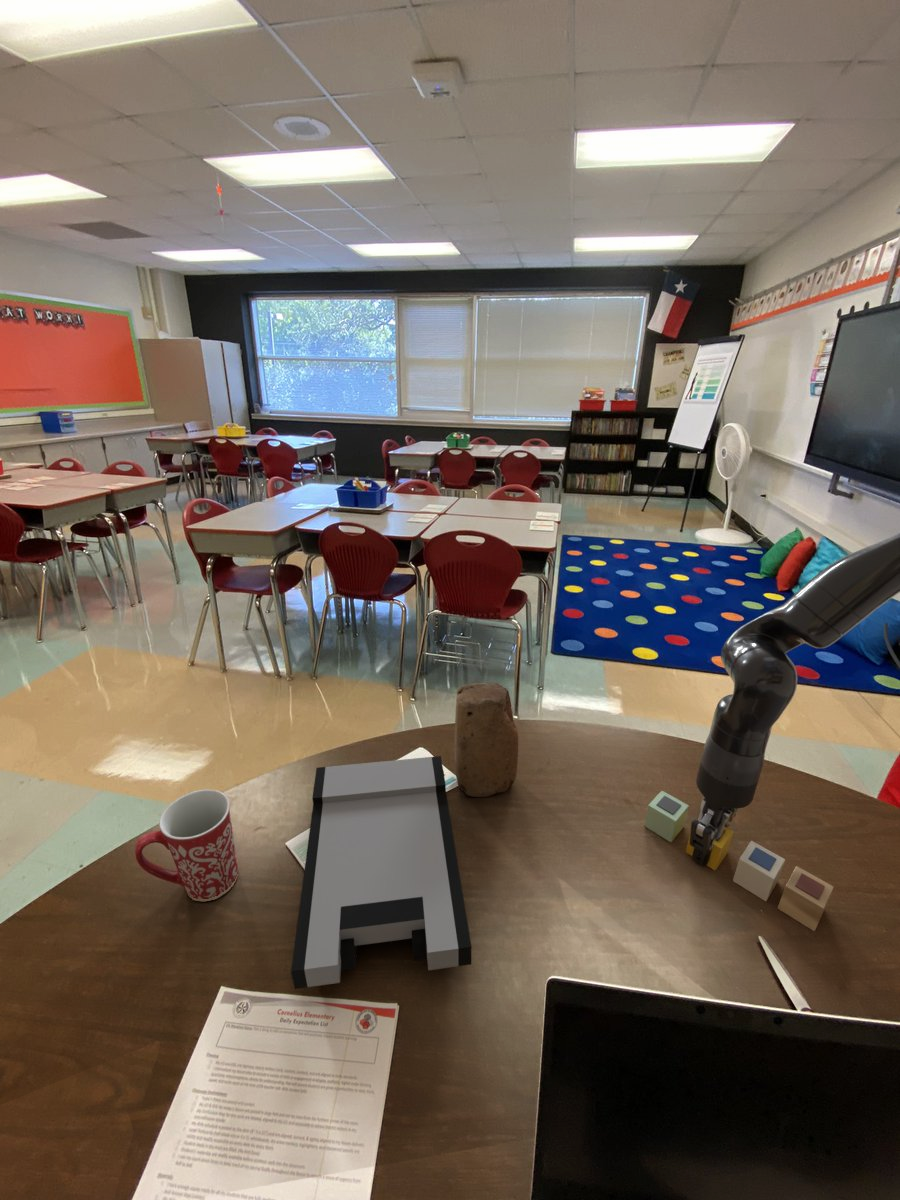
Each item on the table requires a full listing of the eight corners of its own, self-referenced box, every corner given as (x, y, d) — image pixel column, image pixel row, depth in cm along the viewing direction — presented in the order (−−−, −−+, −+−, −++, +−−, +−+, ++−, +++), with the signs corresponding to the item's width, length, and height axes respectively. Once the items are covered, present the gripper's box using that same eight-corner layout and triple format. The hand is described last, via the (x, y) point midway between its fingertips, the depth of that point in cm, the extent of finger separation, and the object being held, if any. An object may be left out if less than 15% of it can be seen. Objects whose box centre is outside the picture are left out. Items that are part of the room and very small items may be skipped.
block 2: (657, 811, 91) (662, 789, 89) (684, 826, 88) (689, 804, 86) (644, 826, 88) (648, 804, 86) (670, 842, 85) (675, 820, 83)
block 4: (788, 888, 78) (796, 864, 76) (824, 909, 75) (834, 886, 73) (777, 908, 75) (785, 885, 73) (814, 931, 72) (824, 908, 70)
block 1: (456, 800, 94) (456, 705, 85) (453, 770, 101) (453, 679, 92) (518, 797, 94) (524, 702, 86) (511, 767, 101) (516, 676, 93)
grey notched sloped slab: (298, 1007, 64) (289, 964, 61) (321, 804, 93) (316, 767, 90) (470, 983, 67) (471, 940, 63) (441, 792, 95) (440, 756, 92)
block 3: (744, 862, 82) (751, 839, 80) (777, 881, 79) (785, 858, 77) (732, 881, 79) (739, 858, 77) (766, 901, 76) (774, 878, 74)
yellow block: (698, 835, 87) (703, 813, 85) (727, 853, 84) (734, 830, 82) (685, 852, 84) (690, 829, 82) (715, 870, 81) (721, 848, 79)
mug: (243, 846, 85) (228, 781, 80) (248, 894, 78) (231, 826, 72) (154, 874, 81) (131, 807, 75) (150, 928, 73) (124, 858, 68)
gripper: (738, 806, 69) (711, 896, 77) (776, 754, 78) (749, 839, 85) (681, 776, 74) (661, 864, 82) (723, 730, 83) (702, 813, 90)
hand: (707, 851), depth 83 cm, fingers closed on yellow block, 4 cm apart
